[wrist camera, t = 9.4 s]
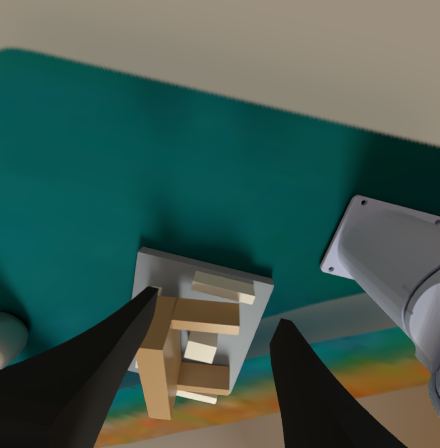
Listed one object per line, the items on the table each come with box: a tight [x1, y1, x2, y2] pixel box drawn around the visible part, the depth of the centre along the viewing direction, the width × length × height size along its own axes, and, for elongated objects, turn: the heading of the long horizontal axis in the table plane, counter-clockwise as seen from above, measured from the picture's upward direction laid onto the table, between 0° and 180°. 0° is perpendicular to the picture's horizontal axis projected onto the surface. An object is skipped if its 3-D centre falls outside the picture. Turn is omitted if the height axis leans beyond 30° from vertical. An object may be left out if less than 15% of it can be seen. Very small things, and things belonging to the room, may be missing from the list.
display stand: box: [128, 247, 274, 404], centre depth 23 cm, size 14×17×3 cm
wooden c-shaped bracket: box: [135, 296, 240, 420], centre depth 21 cm, size 8×12×5 cm, turn 176°
